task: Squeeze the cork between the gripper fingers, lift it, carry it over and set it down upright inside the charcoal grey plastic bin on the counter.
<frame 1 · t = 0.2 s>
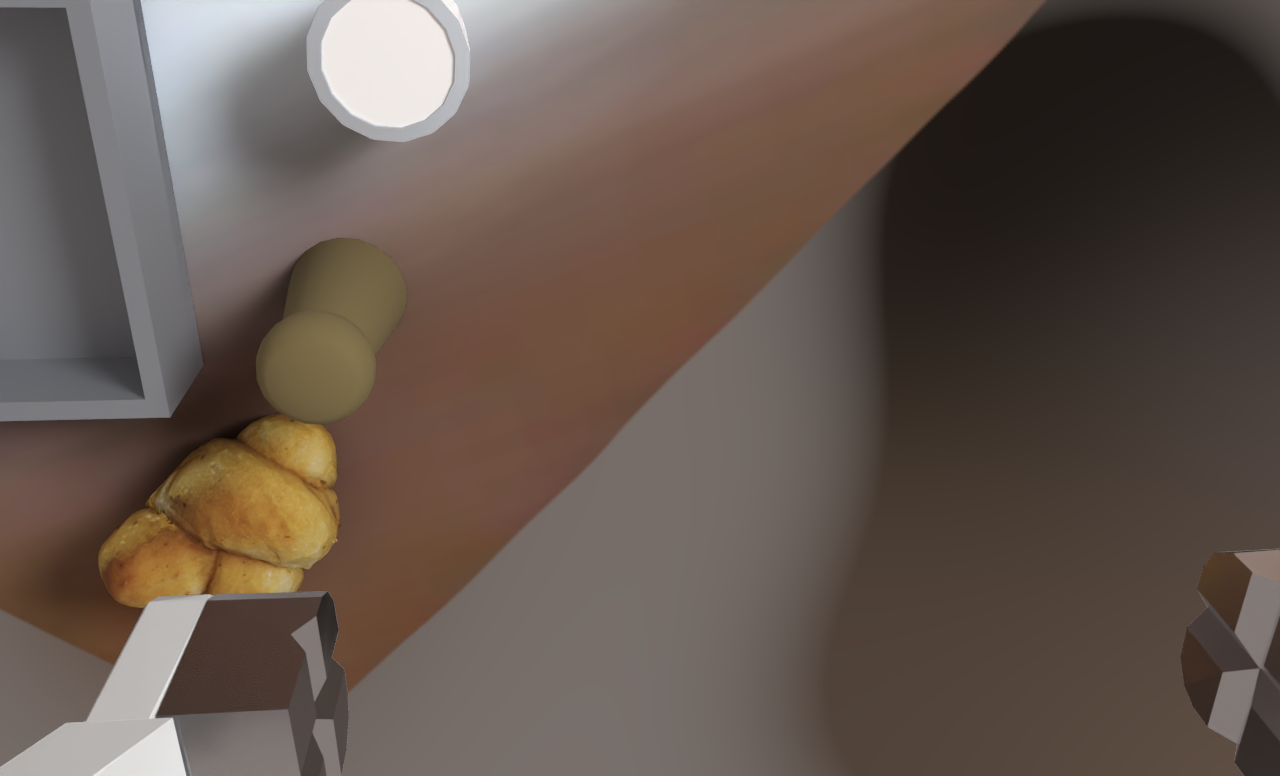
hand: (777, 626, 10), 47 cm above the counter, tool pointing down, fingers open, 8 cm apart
bread roll: (263, 488, 64), on the counter
shot glass: (407, 35, 53), on the counter
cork: (349, 291, 59), on the counter
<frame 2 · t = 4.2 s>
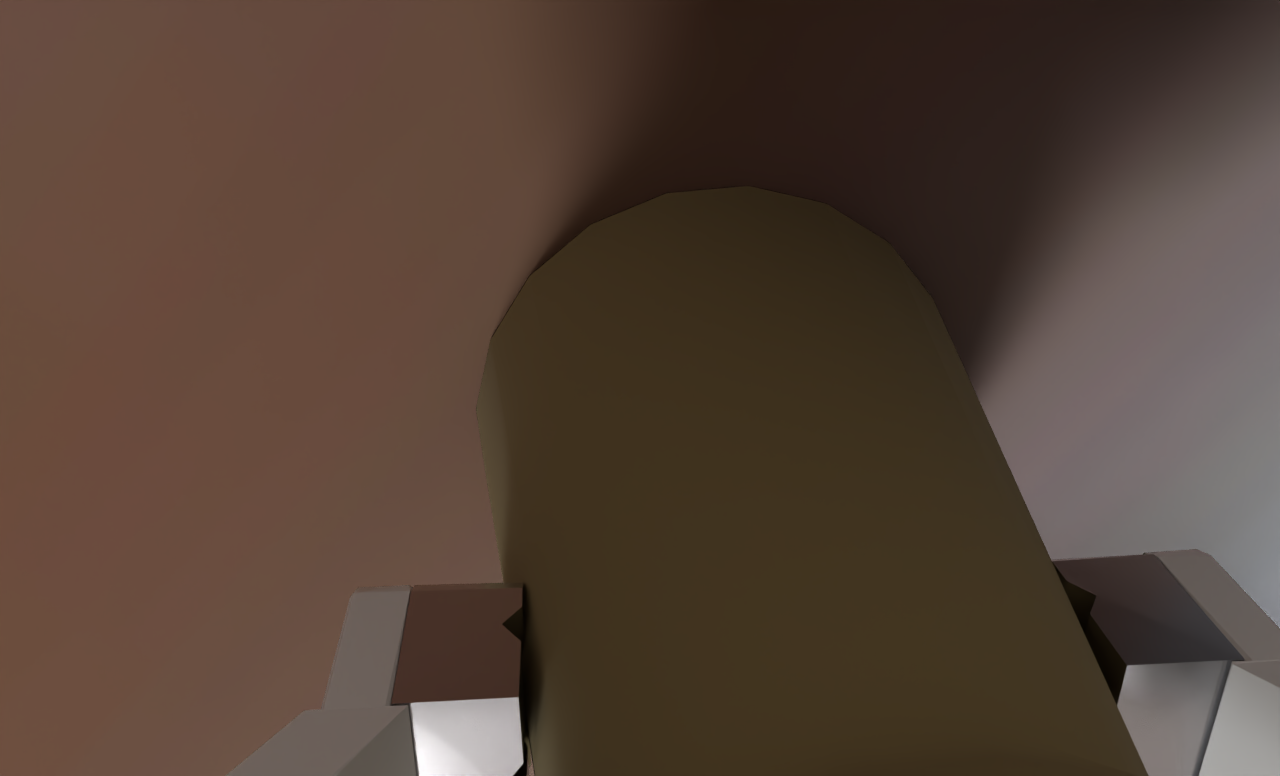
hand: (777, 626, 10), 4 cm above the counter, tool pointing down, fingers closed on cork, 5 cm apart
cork: (715, 412, 14), on the counter, touching gripper
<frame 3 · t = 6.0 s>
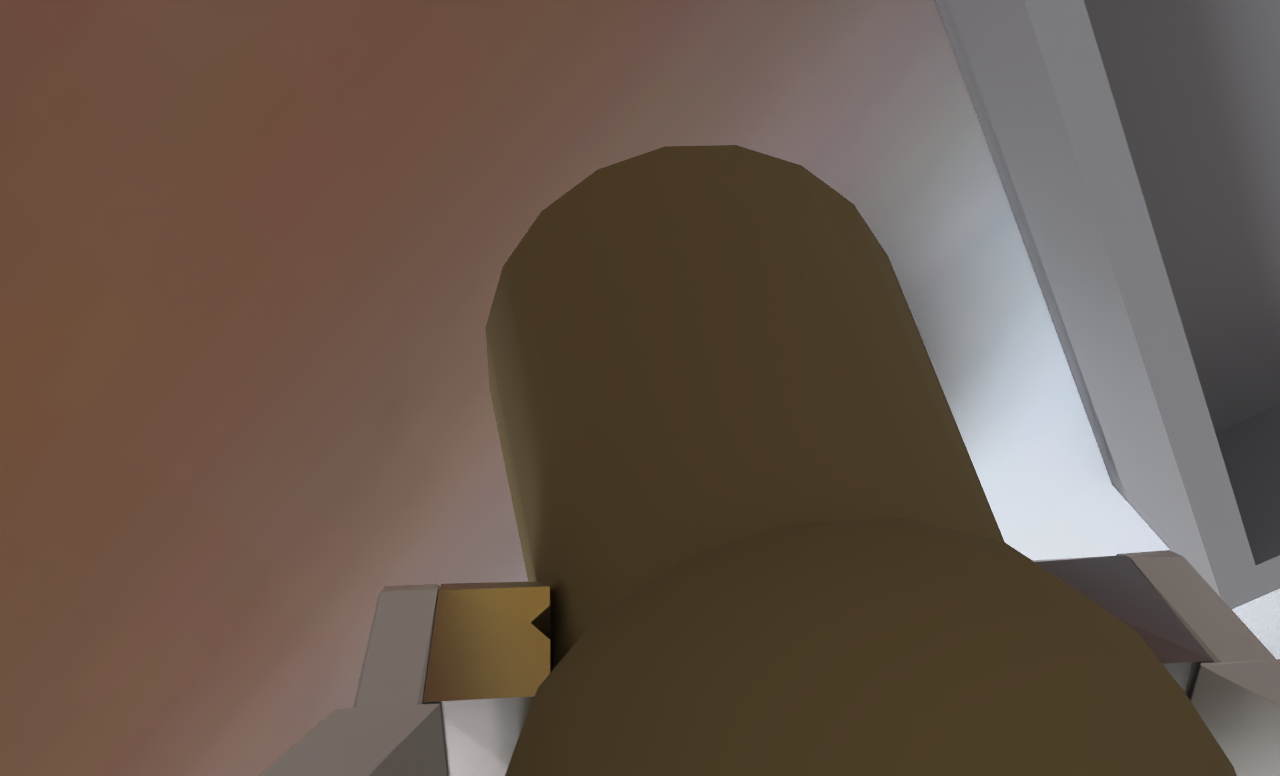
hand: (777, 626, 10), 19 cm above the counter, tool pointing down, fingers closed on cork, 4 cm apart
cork: (694, 346, 16), point 12 cm above the counter, touching gripper
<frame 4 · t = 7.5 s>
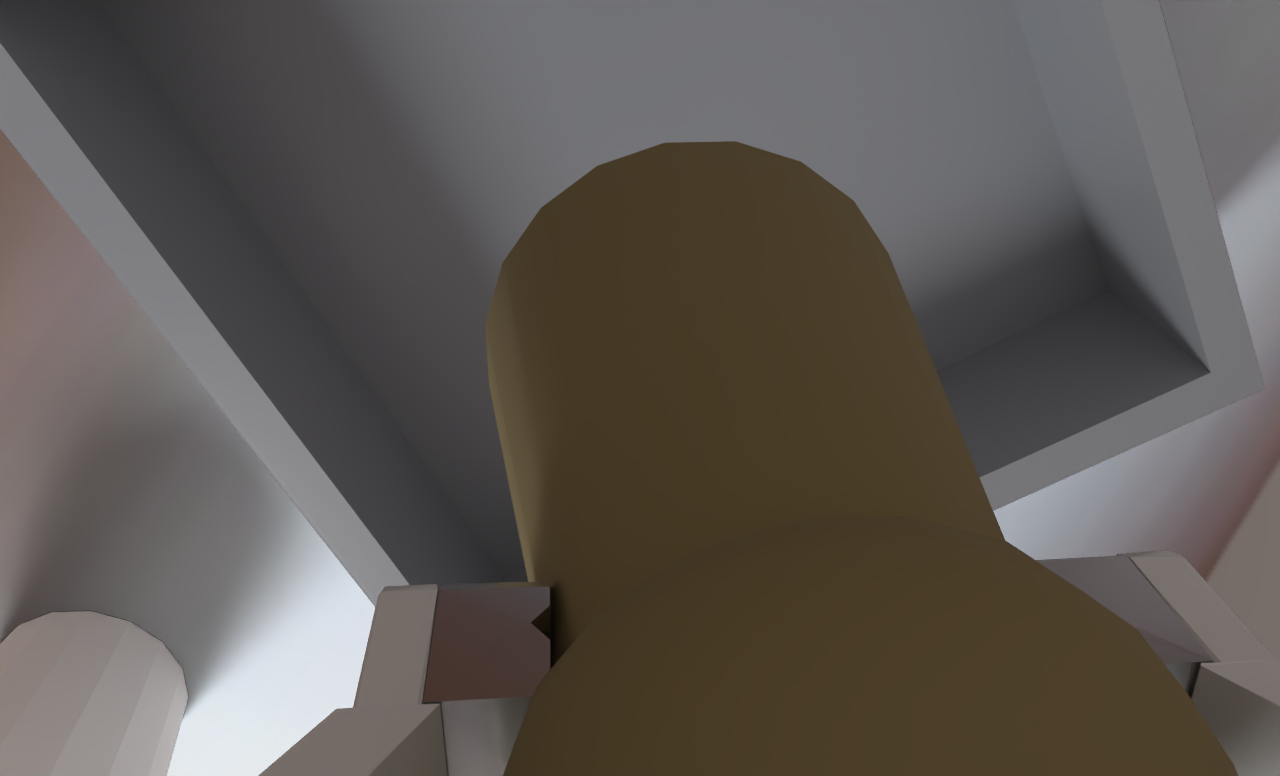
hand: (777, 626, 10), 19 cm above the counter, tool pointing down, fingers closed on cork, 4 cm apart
bin: (640, 137, 27), on the counter
shot glass: (92, 682, 34), on the counter
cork: (693, 342, 16), point 12 cm above the counter, touching gripper
when the fingers open (8 cm above the counter, at t = 9.4 s): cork stays where it is, resting on bin.
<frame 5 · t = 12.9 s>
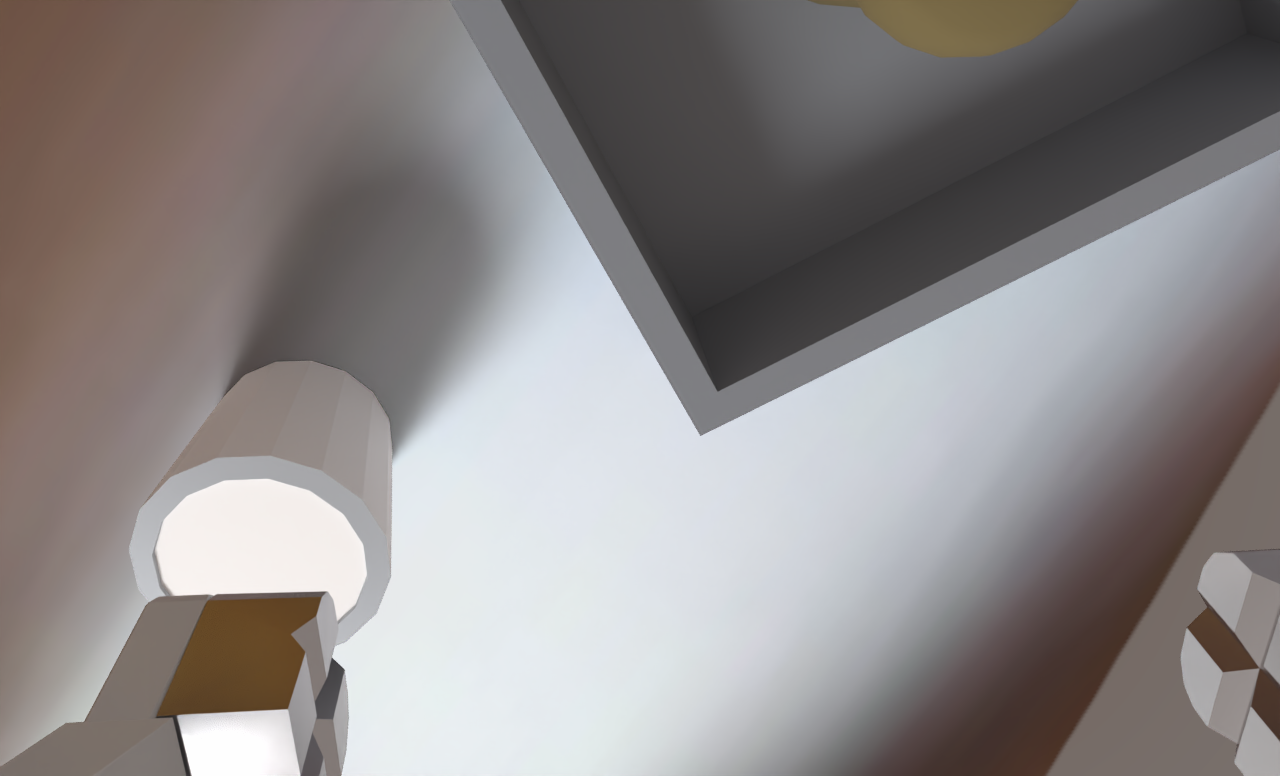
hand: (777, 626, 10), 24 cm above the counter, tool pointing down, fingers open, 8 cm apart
shot glass: (305, 434, 37), on the counter
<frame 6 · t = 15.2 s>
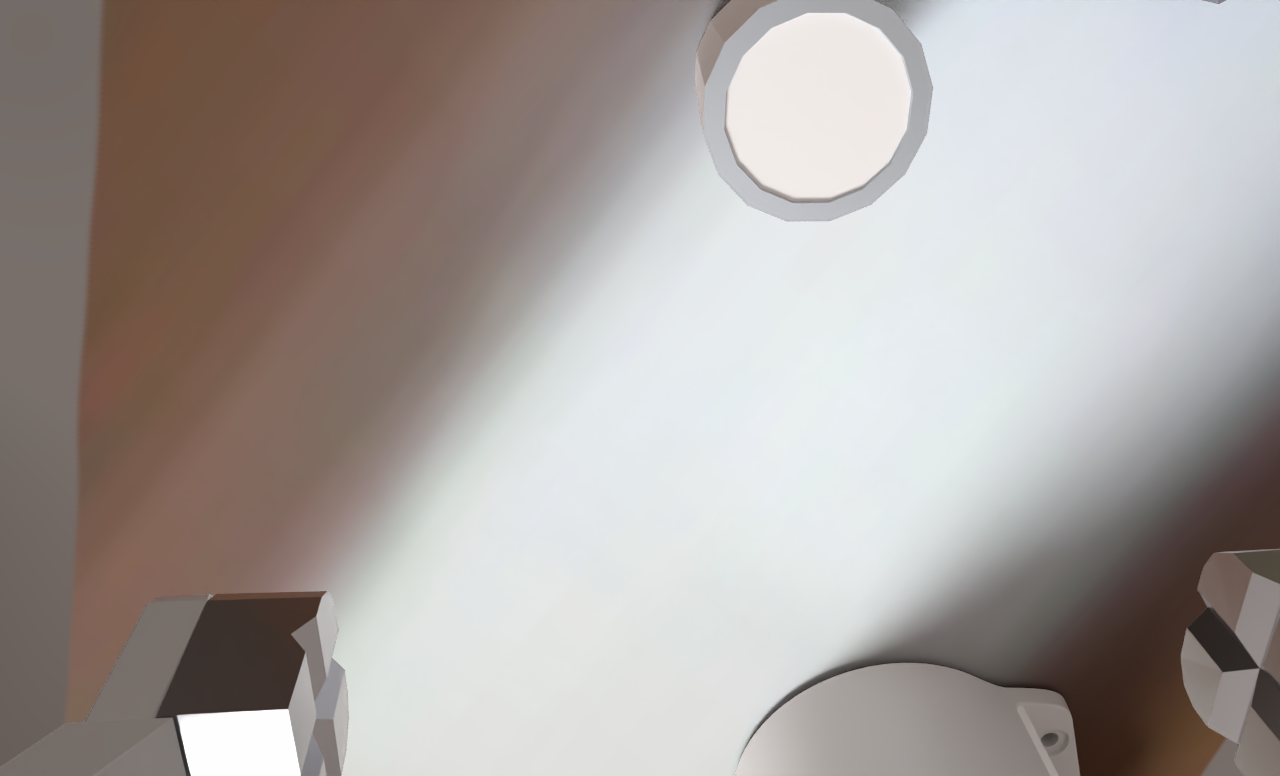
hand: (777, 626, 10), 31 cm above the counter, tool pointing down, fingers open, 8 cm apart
shot glass: (773, 67, 39), on the counter
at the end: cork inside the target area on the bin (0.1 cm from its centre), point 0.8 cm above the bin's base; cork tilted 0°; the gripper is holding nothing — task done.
